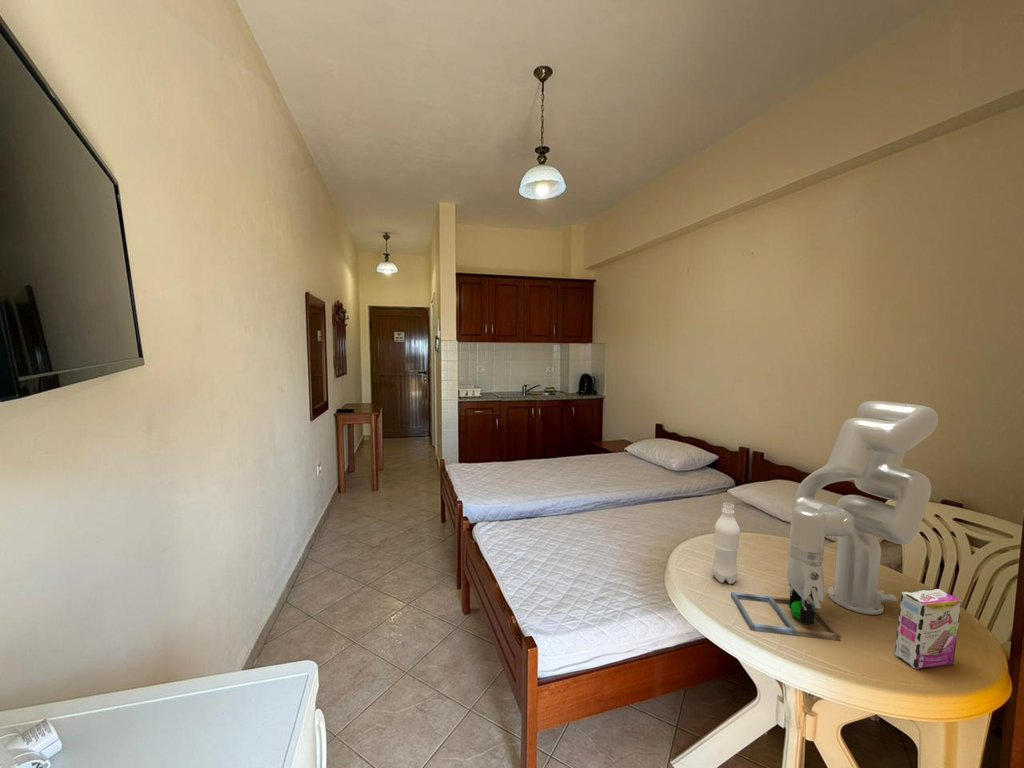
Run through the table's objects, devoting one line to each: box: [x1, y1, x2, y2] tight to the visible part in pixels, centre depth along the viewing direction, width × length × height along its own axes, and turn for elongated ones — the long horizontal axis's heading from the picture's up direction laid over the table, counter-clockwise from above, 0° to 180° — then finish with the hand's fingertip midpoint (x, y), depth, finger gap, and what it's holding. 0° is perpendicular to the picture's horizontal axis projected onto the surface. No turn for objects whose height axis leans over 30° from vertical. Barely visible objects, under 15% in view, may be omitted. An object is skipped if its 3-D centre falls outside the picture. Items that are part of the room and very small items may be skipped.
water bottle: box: [712, 502, 741, 585], centre depth 129 cm, size 7×7×25 cm
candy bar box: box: [894, 588, 963, 670], centre depth 96 cm, size 11×5×16 cm, turn 99°
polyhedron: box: [790, 601, 803, 621], centre depth 111 cm, size 5×5×5 cm
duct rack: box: [730, 591, 842, 642], centre depth 112 cm, size 21×15×1 cm
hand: (801, 615), depth 111 cm, fingers closed on polyhedron, 5 cm apart
